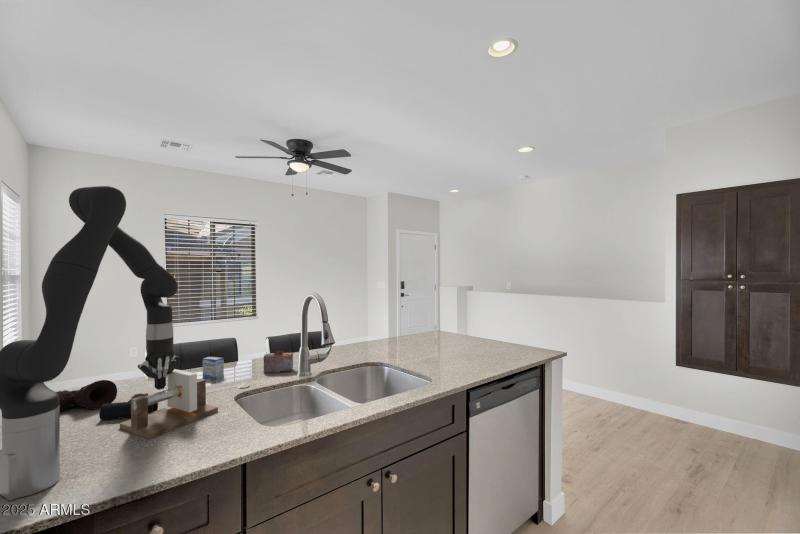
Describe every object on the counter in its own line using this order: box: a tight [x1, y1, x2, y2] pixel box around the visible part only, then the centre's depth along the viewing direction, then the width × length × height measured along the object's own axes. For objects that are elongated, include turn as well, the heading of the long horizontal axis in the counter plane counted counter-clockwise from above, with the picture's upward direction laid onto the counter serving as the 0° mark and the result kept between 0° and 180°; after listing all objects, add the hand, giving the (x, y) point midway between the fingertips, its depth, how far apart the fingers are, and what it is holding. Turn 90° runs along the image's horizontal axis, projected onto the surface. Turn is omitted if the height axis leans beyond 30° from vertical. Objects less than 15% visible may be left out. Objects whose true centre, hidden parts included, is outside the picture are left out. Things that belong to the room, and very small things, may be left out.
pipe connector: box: [98, 393, 159, 421], centre depth 124 cm, size 12×5×15 cm
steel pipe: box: [131, 386, 182, 410], centre depth 118 cm, size 22×3×3 cm, turn 153°
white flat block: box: [166, 368, 198, 412], centre depth 121 cm, size 2×12×12 cm, turn 63°
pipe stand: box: [119, 378, 219, 440], centre depth 118 cm, size 22×16×10 cm
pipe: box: [55, 379, 118, 412], centre depth 129 cm, size 10×15×15 cm
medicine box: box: [202, 356, 225, 379], centre depth 163 cm, size 8×4×9 cm, turn 73°
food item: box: [263, 350, 294, 373], centre depth 172 cm, size 14×8×10 cm, turn 102°
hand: (160, 388), depth 119 cm, fingers closed
